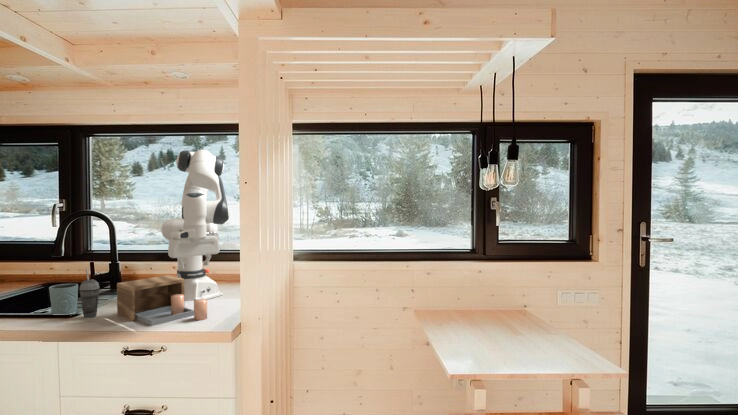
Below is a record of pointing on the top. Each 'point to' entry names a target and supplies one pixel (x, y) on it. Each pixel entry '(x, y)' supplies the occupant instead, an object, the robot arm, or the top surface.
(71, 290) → the teal cup
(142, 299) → the open wooden box
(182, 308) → the peach glossy rounded part
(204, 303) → the peach rounded capsule
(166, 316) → the tray
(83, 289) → the beverage cup
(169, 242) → the robot arm
